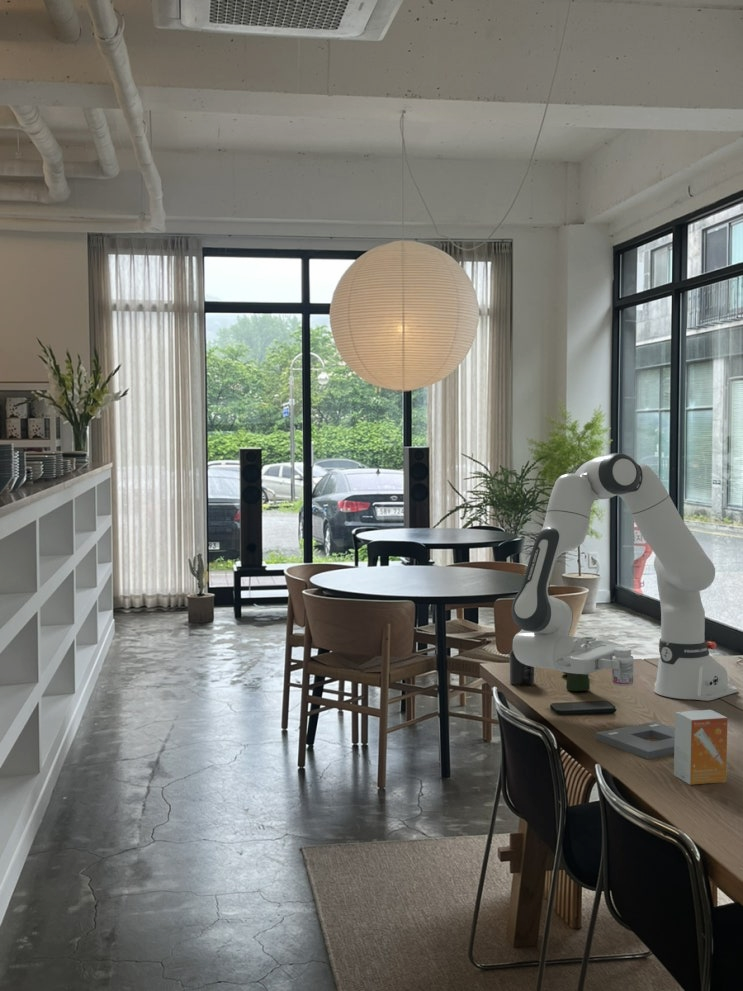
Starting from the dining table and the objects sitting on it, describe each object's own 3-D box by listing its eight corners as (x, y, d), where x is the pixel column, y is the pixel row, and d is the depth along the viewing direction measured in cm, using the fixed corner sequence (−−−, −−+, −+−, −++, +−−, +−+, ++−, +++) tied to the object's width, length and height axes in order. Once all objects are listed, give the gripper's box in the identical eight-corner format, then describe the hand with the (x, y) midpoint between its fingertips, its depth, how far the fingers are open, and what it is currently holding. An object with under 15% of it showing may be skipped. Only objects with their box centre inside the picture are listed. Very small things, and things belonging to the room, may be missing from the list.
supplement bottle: (533, 680, 277) (533, 638, 277) (535, 686, 271) (535, 643, 270) (509, 680, 278) (509, 638, 277) (510, 686, 271) (510, 643, 271)
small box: (690, 786, 192) (691, 719, 191) (673, 775, 198) (673, 711, 197) (727, 782, 194) (728, 717, 193) (709, 772, 200) (710, 708, 199)
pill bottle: (609, 681, 235) (609, 646, 235) (629, 681, 236) (628, 646, 235) (616, 686, 230) (616, 651, 230) (636, 686, 231) (636, 650, 230)
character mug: (563, 685, 272) (564, 638, 271) (590, 686, 271) (590, 639, 270) (565, 695, 261) (565, 646, 261) (592, 696, 260) (593, 647, 259)
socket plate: (654, 728, 231) (654, 721, 231) (708, 746, 217) (708, 738, 217) (596, 739, 222) (596, 732, 222) (648, 759, 208) (648, 751, 208)
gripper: (551, 649, 233) (605, 657, 224) (593, 635, 249) (645, 642, 240) (551, 676, 233) (605, 684, 224) (593, 660, 249) (645, 667, 240)
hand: (626, 662), depth 232 cm, fingers closed on pill bottle, 5 cm apart
